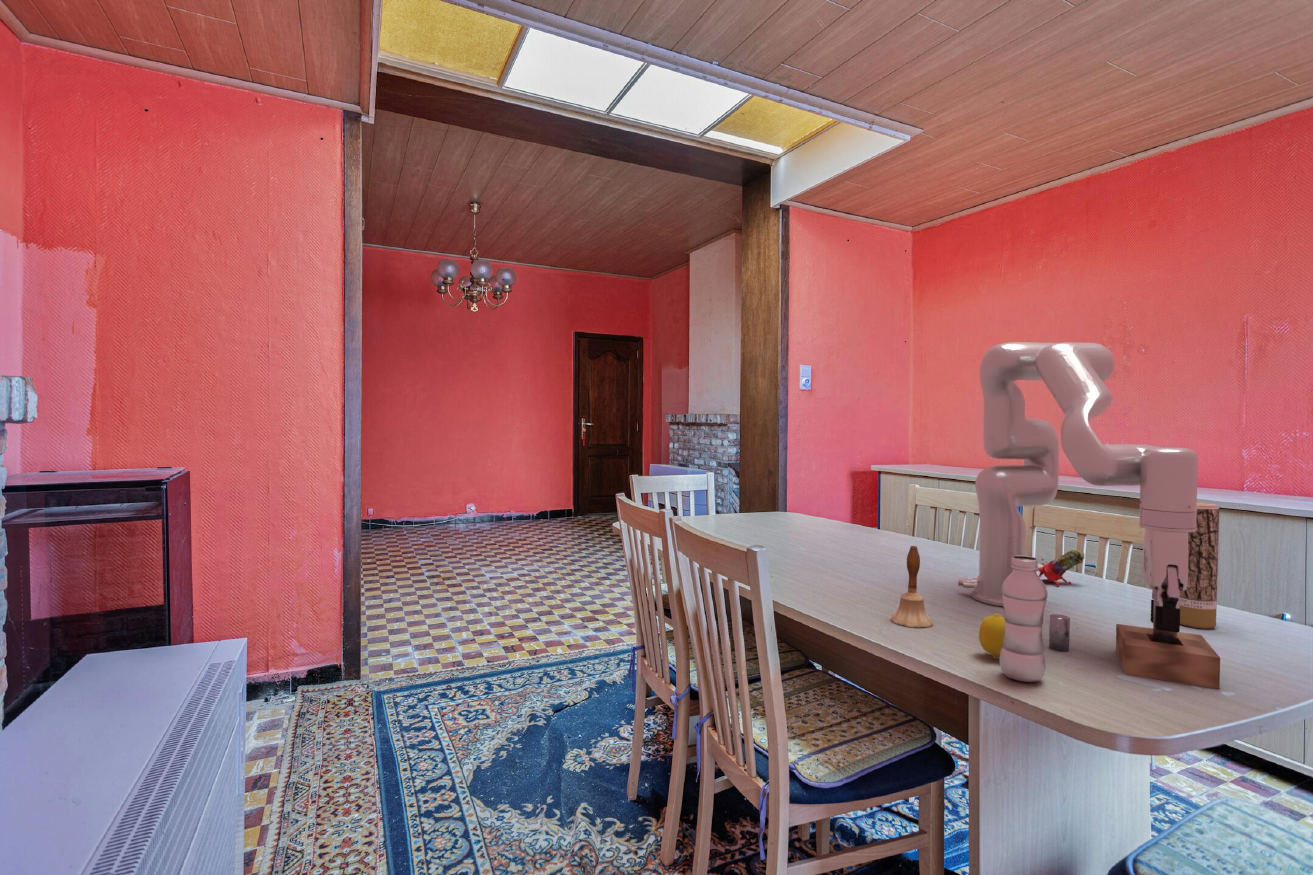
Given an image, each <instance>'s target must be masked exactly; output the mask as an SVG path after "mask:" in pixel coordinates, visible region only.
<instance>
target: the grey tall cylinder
mask: <svg viewBox="0 0 1313 875" xmlns="http://www.w3.org/2000/svg"><path fill="white" fill-rule="evenodd" d="M1162 588H1167V585H1162ZM1164 594H1167V593H1166V592H1163V595H1164ZM1153 600H1154V612H1153V623H1152V629H1153V642H1160V643H1167V644H1174V645H1177V632H1169V631H1161V630H1157V629H1156V628H1155V605H1156V606H1158V587H1155V588H1154V599H1153Z"/></svg>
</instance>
